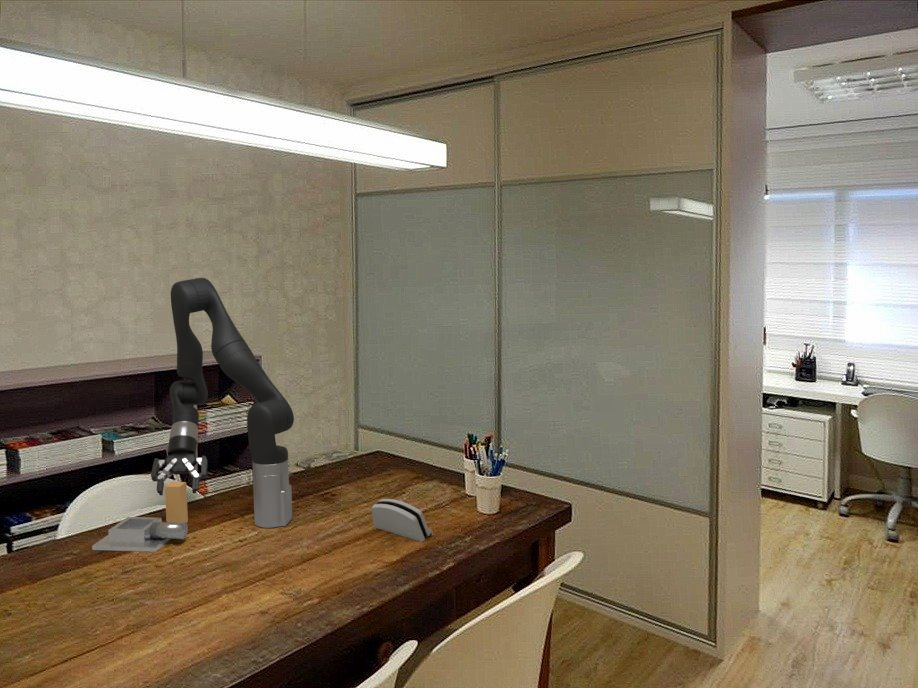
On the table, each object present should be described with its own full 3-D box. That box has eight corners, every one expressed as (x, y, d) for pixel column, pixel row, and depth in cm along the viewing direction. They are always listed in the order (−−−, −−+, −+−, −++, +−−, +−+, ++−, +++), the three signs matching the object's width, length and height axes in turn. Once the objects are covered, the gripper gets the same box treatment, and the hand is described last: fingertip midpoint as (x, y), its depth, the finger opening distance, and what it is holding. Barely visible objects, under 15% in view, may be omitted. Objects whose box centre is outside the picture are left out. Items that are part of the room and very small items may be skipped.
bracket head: (195, 533, 184) (194, 514, 184) (173, 552, 172) (172, 532, 172) (118, 531, 186) (117, 512, 185) (92, 549, 174) (90, 530, 173)
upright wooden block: (187, 521, 193) (186, 482, 191) (181, 526, 189) (179, 486, 187) (173, 521, 193) (171, 481, 191) (166, 526, 189) (164, 486, 187)
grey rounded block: (434, 535, 183) (426, 504, 179) (423, 547, 180) (414, 515, 176) (386, 521, 193) (377, 491, 189) (375, 532, 189) (365, 501, 186)
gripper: (154, 435, 197) (146, 488, 187) (207, 432, 200) (203, 485, 190) (159, 448, 203) (151, 501, 193) (211, 446, 206) (206, 497, 196)
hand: (177, 493), depth 192 cm, fingers open, 8 cm apart
